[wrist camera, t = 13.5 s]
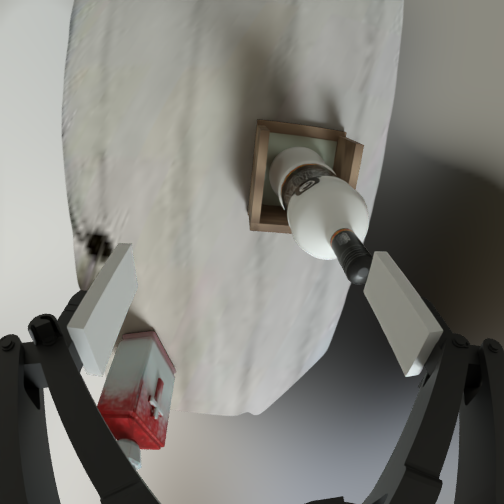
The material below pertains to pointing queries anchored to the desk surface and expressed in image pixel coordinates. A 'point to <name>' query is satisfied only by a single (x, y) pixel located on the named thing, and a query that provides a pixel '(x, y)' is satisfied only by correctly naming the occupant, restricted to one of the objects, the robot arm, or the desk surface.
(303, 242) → the vodka
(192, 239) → the desk surface
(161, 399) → the bottle
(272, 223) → the wooden box
